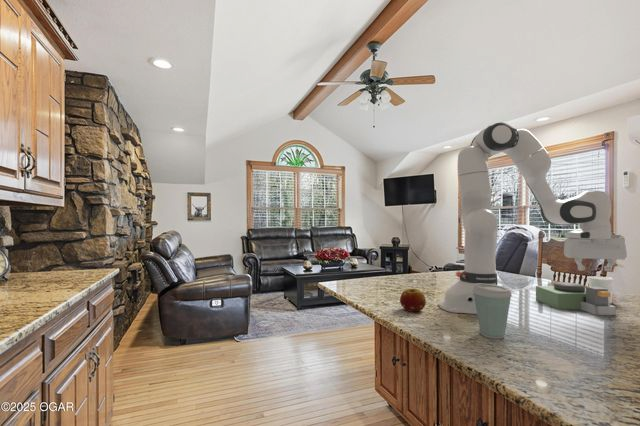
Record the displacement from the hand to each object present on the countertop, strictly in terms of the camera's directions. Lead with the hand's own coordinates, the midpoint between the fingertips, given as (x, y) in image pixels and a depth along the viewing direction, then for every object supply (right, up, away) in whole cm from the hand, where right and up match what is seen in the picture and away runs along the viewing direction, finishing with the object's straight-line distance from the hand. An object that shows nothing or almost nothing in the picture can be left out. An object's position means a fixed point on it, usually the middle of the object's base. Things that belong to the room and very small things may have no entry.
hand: (594, 270), depth 121 cm
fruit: (-67, -16, +3) cm, 69 cm away
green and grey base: (-2, -15, +6) cm, 17 cm away
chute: (+1, -15, 0) cm, 15 cm away
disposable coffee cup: (-51, -15, -24) cm, 58 cm away
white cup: (+15, -16, +14) cm, 26 cm away
